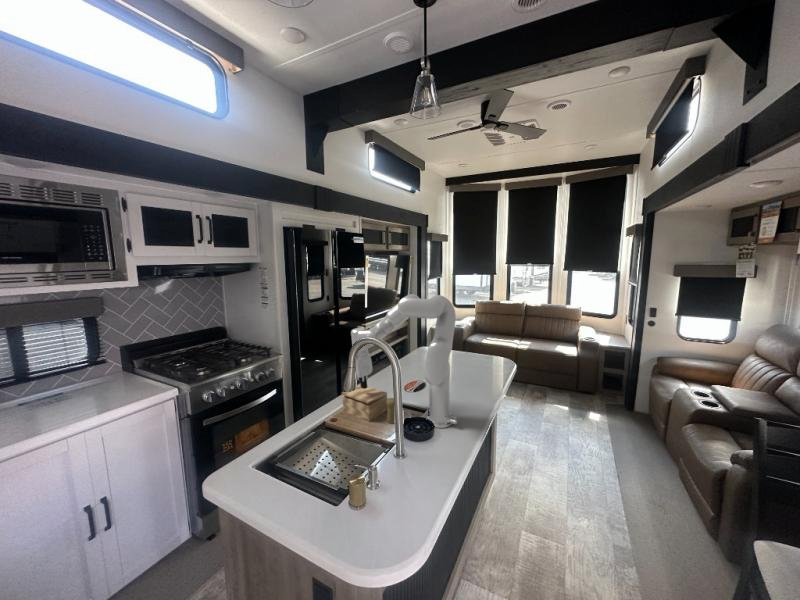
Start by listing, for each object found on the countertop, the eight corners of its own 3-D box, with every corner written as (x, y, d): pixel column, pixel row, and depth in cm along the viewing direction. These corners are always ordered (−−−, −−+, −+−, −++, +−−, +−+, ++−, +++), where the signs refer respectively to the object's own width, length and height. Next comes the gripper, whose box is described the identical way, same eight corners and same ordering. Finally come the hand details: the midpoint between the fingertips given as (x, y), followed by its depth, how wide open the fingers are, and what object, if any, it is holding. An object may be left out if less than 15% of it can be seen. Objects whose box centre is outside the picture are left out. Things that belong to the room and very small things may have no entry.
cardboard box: (387, 409, 160) (386, 394, 158) (369, 421, 149) (368, 406, 147) (362, 400, 171) (361, 386, 169) (343, 411, 160) (342, 396, 158)
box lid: (387, 394, 158) (387, 392, 158) (368, 403, 147) (368, 401, 147) (361, 386, 169) (361, 384, 169) (341, 394, 158) (341, 392, 158)
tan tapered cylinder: (391, 425, 145) (390, 403, 143) (384, 420, 150) (383, 398, 148) (401, 421, 148) (400, 399, 146) (394, 415, 153) (393, 395, 151)
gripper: (355, 358, 146) (359, 395, 148) (376, 349, 157) (379, 383, 160) (344, 356, 150) (348, 392, 153) (365, 347, 162) (368, 380, 165)
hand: (364, 387), depth 157 cm, fingers closed
